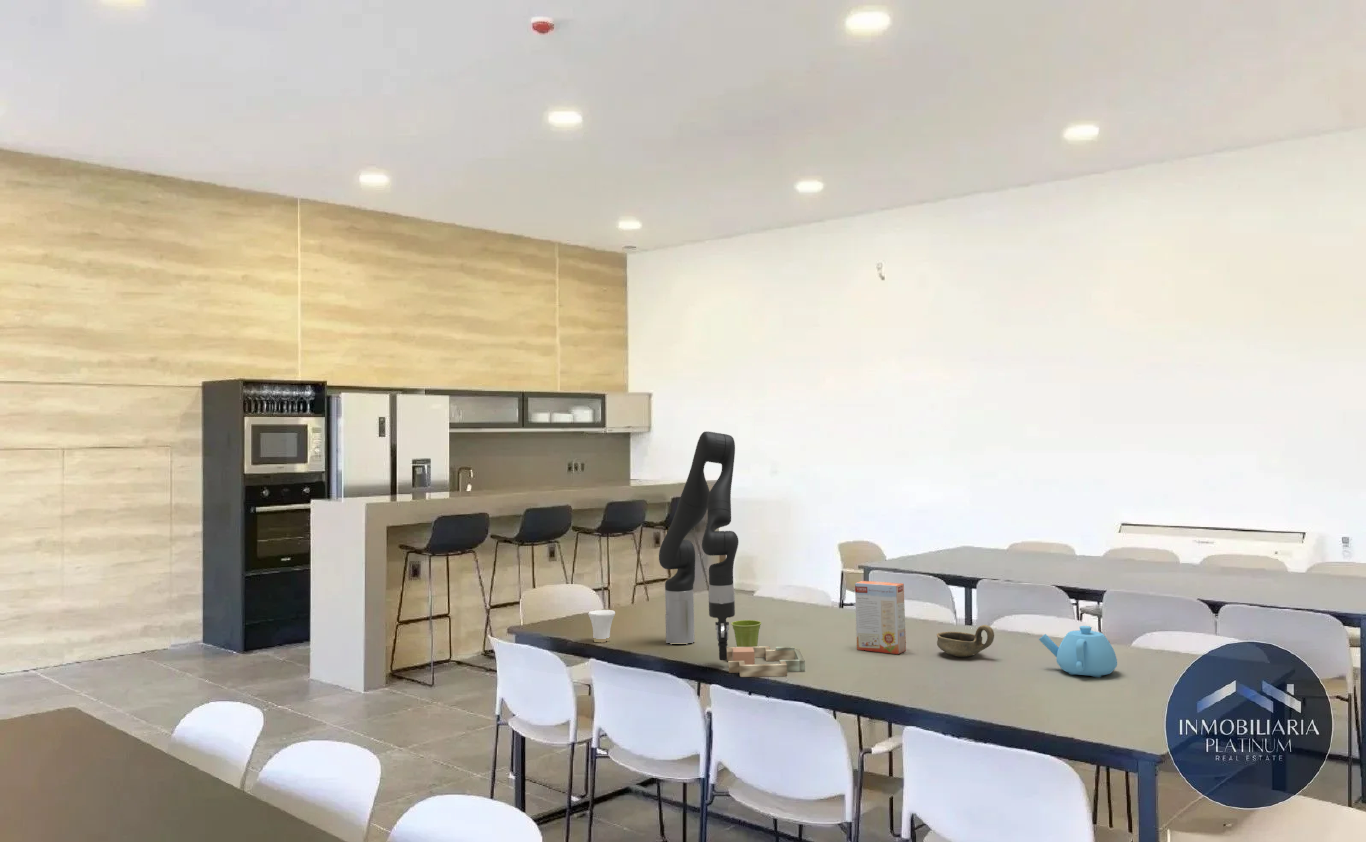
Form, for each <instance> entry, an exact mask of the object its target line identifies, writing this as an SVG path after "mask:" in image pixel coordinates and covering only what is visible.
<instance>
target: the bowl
mask: <svg viewBox="0 0 1366 842" xmlns="http://www.w3.org/2000/svg"><path fill="white" fill-rule="evenodd" d="M983 631H984V632H985V633H986V635H987V638H986V641H985V643H983V637H982V633H983ZM936 637H937V641H936V644H937V647H938V648H939V649H940V650H941V651H942V652H944V653H945V654H948V655H950V656H955V657H960V658H965V657H970V656H974V655H977V654H978V653H981V652H982V651H983V650H986V649H987V648H989V647H990V646H991V645H992V644H993V642H994V640H995V632H994V630H993V628H992V627H991V626H990V625H987V624H982V625H980V626H979V627H977V629H976V631H975V634H973V633H968V632H962V631H942V632H938V633H936Z"/></svg>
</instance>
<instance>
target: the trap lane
mask: <svg viewBox="0 0 1366 842" xmlns="http://www.w3.org/2000/svg"><path fill="white" fill-rule="evenodd" d="M732 648H738V647H737V646H727V660H726V661H728V662H727V663H728V673H729V674H733V673H734V674H735V673H737V674H738V673H739V677H740V678H750V677H751V678H753V677H756V678H757V677H758V678H759V677H787V676H788V673H790V672H806V661H805V657H804V656H803V653H802V652H801V650H800V649H799V648H797V649H796V648H795V646H775V649H771V646H765V645H762V646H760V645H759V646H758V645H757V646H756V647H753V649H754V659H755V658H758V659H759V658H765V662H779V663H768V664H767V663H766V664H762V663H761V664H756V663H755V665H745V662H744V661H733V659H732Z"/></svg>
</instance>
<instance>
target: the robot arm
mask: <svg viewBox="0 0 1366 842" xmlns="http://www.w3.org/2000/svg"><path fill="white" fill-rule="evenodd" d="M735 454H736V443H735V439H734V437H733V436H732V435H729V434H726V433H721V432H715V431H706V430H705V431H704V432H702V433H701V434H700V436H699V437H698V440H697V444H696V447H695V451H694V455H693V457H692V458H693V459H692V463H691V466H690V470H689V473H688V476H687V479H686V481H685V483H684V484H685V485H684V486H683V488H682V489H683V490H682V492H681V495H680V497H679V500H678V503H677V507H676V510H675V513H674V515H673V518H672V521H671V523H670V525H669V528H668V530H667V532H666V534H665V536H664V538H663V541H662V543H661V545H660V548H659V552H658V562H659V564H660V566H661V567H662V569H665V570H677V571H676V573H675V574H674V575H673V576H672V577H671V578H669V579H667V580H666V581H665V583H664V591H665V592H664V593H665V594H664V595H665V600H664V601H665V618H664V619H665V644H666V643H692V644H694V643H695V642H694V641H695V639H696V638H695V609H694V607H695V603H694V585H695V579H696V550H695V547H694V544H693V543H692V541H691V540H689V539H685V538H686V536H687V535H688V534H689V533H690V532H691V531H692V530H693V529H695V527H696V526H697V525H698V524H699V523H700V522H701V521H702V520H703V519H704V517H705V515H707V519H706V521H707V522H706V526H705V531H704V534H703V537H702V540H701V549H702V551H703V553H704V554H705V555H706V556H725V559H723V561H720V562H716V563H712V564H711V565H709V567H708V584H709V586H708V615H709V617H710V618H714V619H717V620H718V621H715V630H716V631H715V632H716V640H717V642H718V643H717V647H718V658H719V659H718V660H719V661H727V647H728V645H729V644H728V640H729V630H730V623H729V621H727V618H729V619H730V618H734V617H735V614H736V608H735V607H736V604H735V603H736V602H735V587H734V563H735V559H736V555H737V552H738V548H739V537H738V535H737V534H736V532H735V531H733V530H717V529H720V528H724V527H726V526H728V525H730V523H731V522H732V504H731V503H732V502H731V501H732V500H731V499H732V497H731V495H732V493H731V492H732V483H733V477H734V464H735V457H736V456H735ZM707 462H708V463H713V464H720V465H721V471H720V475H719V477H718V478H717V479H716V482H715V483H714V484H713V486H712V487H711V489H710V488H709V485H708V483H707V479H706V475H705V466H706V464H707ZM716 530H717V531H716ZM693 642H694V643H693Z"/></svg>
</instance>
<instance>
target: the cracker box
mask: <svg viewBox="0 0 1366 842" xmlns="http://www.w3.org/2000/svg"><path fill="white" fill-rule="evenodd" d="M904 585H905V584H904V583H903V582H900V583H899V582H888V581H873V580H871V581H870V580H861V581H857V582H855V583H854V591H855V592H854V593H855V595H854V596H855V625H856V626H855V630H856V633H855V634H856V635H855V636H856V650H858V651H864V650H865V651H867V652H874V653H875V652H876V653H883V654H889V655H890V654H892V655H899V654H902V653H904V652H906V651H907V647H906V646H907V643H906V640H907V639H906V638H907V635H906V613H905V612H906V610H905V609H906V608H905V606H906V605H905V586H904Z"/></svg>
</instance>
